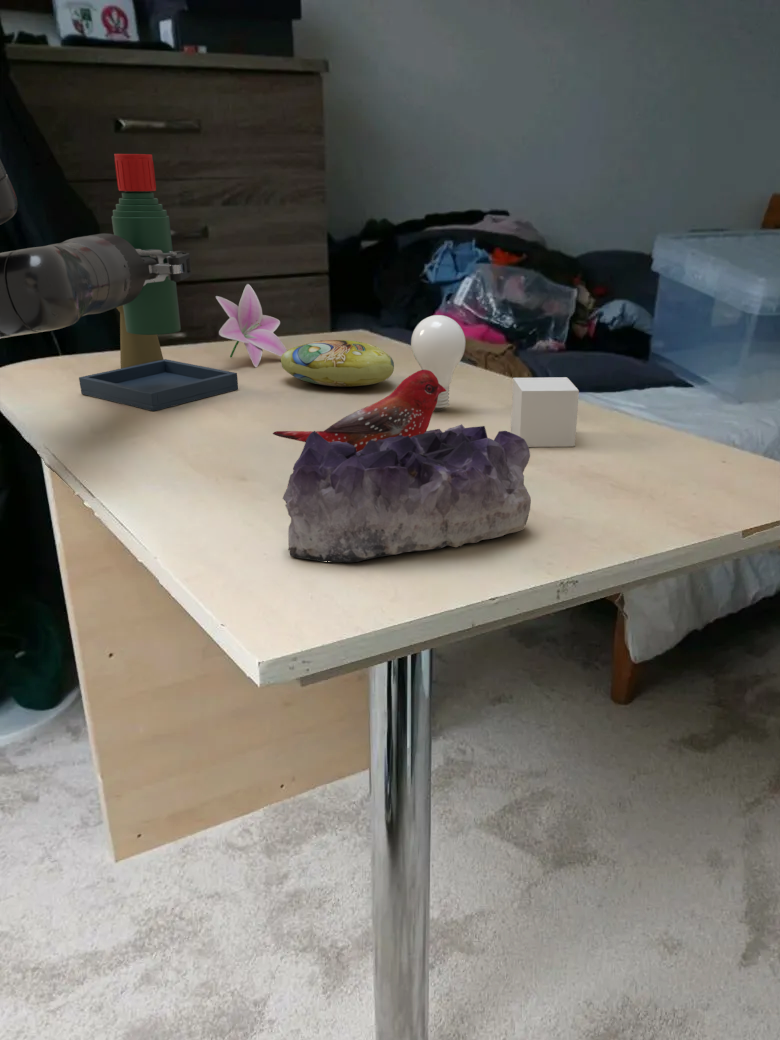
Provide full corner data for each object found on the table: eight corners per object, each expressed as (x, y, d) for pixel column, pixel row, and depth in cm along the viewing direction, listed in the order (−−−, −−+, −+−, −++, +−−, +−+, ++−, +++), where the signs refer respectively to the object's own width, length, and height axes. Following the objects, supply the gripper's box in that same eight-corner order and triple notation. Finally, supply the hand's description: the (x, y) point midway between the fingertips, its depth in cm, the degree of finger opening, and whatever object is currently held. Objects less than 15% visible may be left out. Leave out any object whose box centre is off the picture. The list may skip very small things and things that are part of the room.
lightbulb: (472, 406, 114) (474, 313, 109) (450, 419, 109) (452, 321, 104) (425, 400, 117) (425, 309, 112) (402, 412, 111) (401, 317, 106)
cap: (134, 191, 106) (129, 154, 104) (110, 190, 108) (106, 153, 106) (163, 190, 109) (159, 154, 107) (140, 190, 111) (136, 154, 109)
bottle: (149, 336, 111) (128, 158, 103) (115, 331, 114) (92, 158, 106) (191, 330, 116) (174, 159, 108) (157, 324, 119) (138, 159, 111)
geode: (322, 591, 67) (302, 453, 64) (271, 554, 77) (252, 433, 74) (557, 532, 76) (551, 408, 73) (484, 505, 86) (476, 395, 82)
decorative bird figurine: (453, 473, 92) (454, 369, 87) (283, 505, 83) (276, 392, 79) (437, 465, 94) (438, 364, 89) (271, 495, 85) (262, 385, 81)
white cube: (563, 430, 105) (567, 377, 103) (574, 446, 100) (579, 390, 97) (510, 431, 105) (512, 377, 102) (519, 447, 100) (522, 390, 97)
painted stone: (376, 379, 116) (271, 325, 117) (362, 429, 121) (263, 377, 123) (413, 345, 123) (315, 295, 125) (399, 393, 129) (305, 345, 130)
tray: (153, 411, 111) (151, 393, 110) (81, 394, 117) (78, 377, 116) (238, 389, 121) (237, 372, 120) (167, 374, 127) (165, 359, 127)
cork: (161, 363, 134) (151, 282, 129) (169, 371, 129) (159, 288, 124) (117, 366, 131) (105, 284, 127) (124, 375, 127) (112, 290, 122)
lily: (208, 378, 130) (232, 318, 125) (186, 331, 137) (208, 272, 132) (285, 394, 138) (311, 338, 133) (260, 348, 144) (284, 294, 139)
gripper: (156, 237, 97) (208, 227, 112) (21, 234, 98) (90, 225, 113) (165, 313, 100) (213, 293, 115) (34, 309, 101) (99, 290, 116)
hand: (152, 259), depth 114 cm, fingers closed on bottle, 6 cm apart
